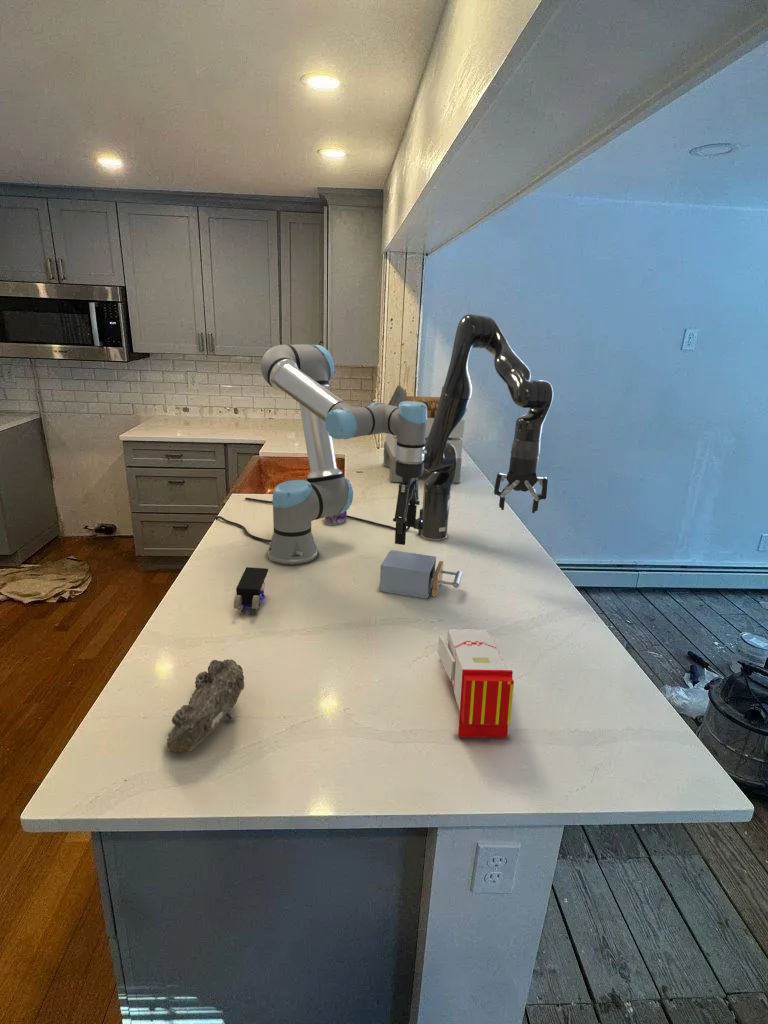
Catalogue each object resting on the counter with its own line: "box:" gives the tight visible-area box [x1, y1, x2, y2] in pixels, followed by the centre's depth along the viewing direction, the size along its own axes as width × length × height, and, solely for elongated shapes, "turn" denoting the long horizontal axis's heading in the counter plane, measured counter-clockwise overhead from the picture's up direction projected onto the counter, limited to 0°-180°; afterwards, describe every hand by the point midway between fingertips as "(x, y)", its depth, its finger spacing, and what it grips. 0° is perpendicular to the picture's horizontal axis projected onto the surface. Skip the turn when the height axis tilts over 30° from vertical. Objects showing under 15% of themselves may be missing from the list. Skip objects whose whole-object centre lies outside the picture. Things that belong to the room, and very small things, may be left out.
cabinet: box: [379, 549, 437, 599], centre depth 161 cm, size 14×11×8 cm
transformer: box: [383, 384, 465, 484], centre depth 268 cm, size 34×33×41 cm
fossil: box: [166, 658, 245, 754], centre depth 106 cm, size 22×10×15 cm
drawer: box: [428, 560, 463, 597], centre depth 160 cm, size 18×10×6 cm, turn 75°
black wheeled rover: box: [233, 566, 269, 615], centre depth 148 cm, size 7×8×15 cm
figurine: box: [323, 510, 348, 526], centre depth 206 cm, size 9×10×15 cm
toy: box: [437, 628, 515, 738], centre depth 117 cm, size 12×13×30 cm
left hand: (405, 535), depth 158 cm, fingers open, 13 cm apart
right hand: (517, 510), depth 160 cm, fingers open, 8 cm apart
